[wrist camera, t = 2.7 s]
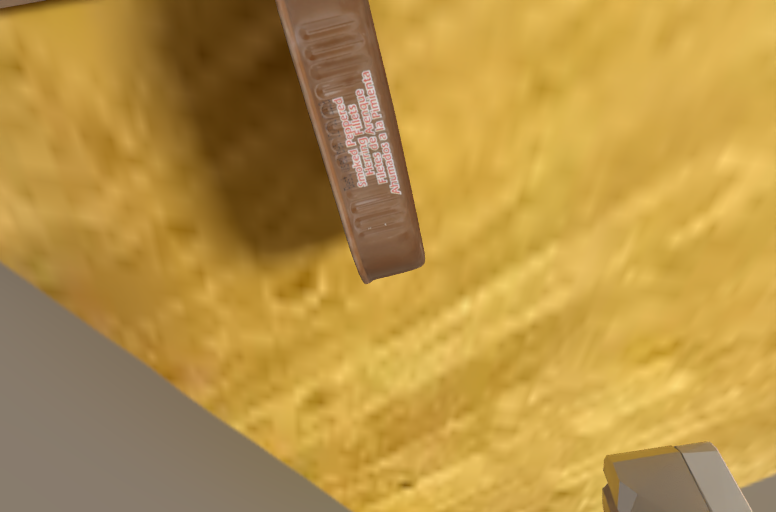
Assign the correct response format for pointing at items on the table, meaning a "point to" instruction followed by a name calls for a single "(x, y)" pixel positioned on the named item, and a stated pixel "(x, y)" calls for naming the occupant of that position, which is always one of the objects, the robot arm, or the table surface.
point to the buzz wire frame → (15, 2)
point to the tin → (355, 131)
